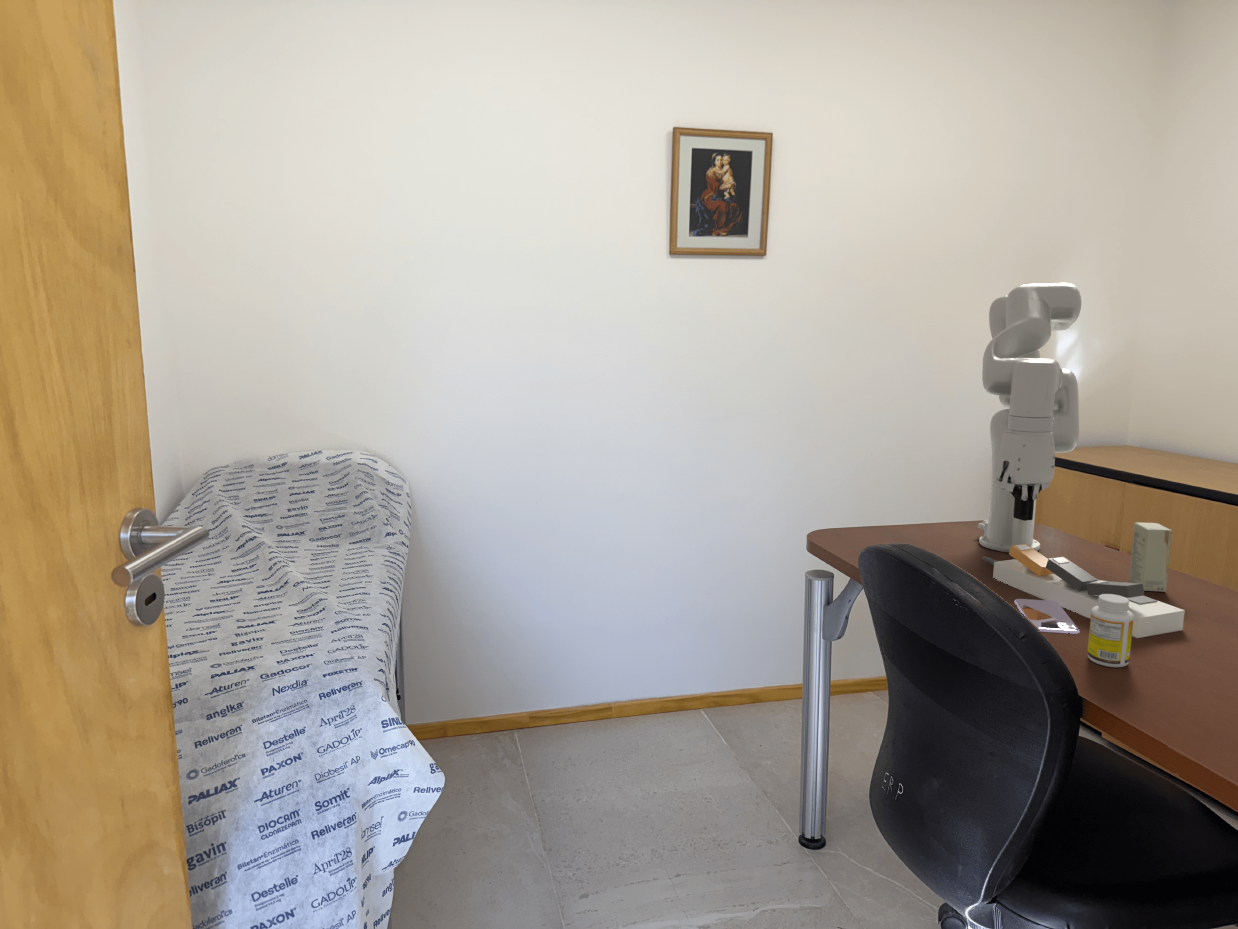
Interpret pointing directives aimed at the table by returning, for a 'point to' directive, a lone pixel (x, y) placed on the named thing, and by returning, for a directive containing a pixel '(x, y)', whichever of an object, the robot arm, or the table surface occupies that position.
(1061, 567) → the block
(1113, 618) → the supplement bottle
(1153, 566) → the skincare box
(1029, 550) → the rocker
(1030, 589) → the power strip
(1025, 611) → the mobile phone
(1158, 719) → the table surface
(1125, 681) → the table surface
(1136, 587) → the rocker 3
